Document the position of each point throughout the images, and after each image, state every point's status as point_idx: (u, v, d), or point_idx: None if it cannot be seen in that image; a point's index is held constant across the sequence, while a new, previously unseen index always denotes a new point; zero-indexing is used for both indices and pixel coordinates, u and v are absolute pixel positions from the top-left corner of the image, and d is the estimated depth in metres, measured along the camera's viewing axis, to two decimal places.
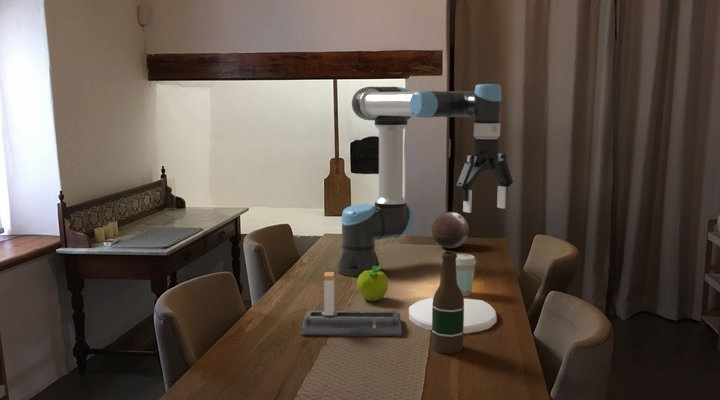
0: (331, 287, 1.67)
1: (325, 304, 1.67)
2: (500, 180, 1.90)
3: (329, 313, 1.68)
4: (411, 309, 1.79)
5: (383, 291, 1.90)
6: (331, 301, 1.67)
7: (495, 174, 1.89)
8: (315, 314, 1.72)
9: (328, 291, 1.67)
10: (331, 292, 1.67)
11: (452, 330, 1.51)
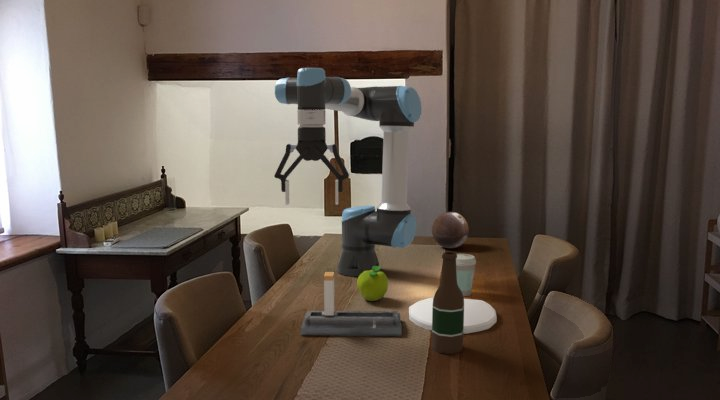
0: (331, 287, 1.67)
1: (325, 304, 1.67)
2: (333, 173, 1.73)
3: (329, 313, 1.68)
4: (411, 309, 1.79)
5: (383, 291, 1.90)
6: (331, 301, 1.67)
7: None
8: (315, 314, 1.72)
9: (328, 291, 1.67)
10: (331, 292, 1.67)
11: (452, 330, 1.51)
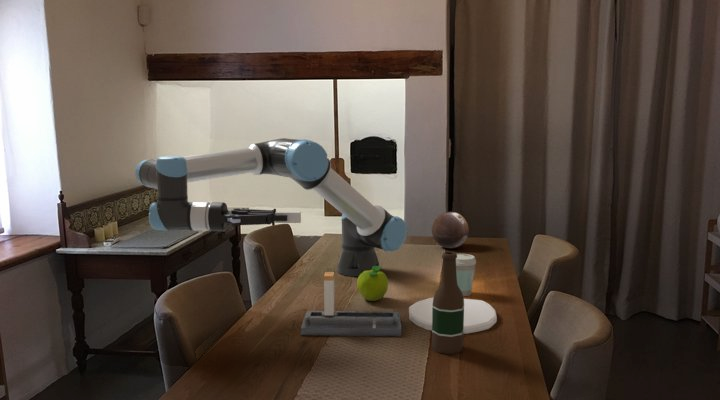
0: (331, 287, 1.67)
1: (325, 304, 1.67)
2: None
3: (329, 313, 1.68)
4: (411, 309, 1.79)
5: (383, 291, 1.90)
6: (331, 301, 1.67)
7: None
8: (315, 314, 1.72)
9: (328, 291, 1.67)
10: (331, 292, 1.67)
11: (452, 330, 1.51)
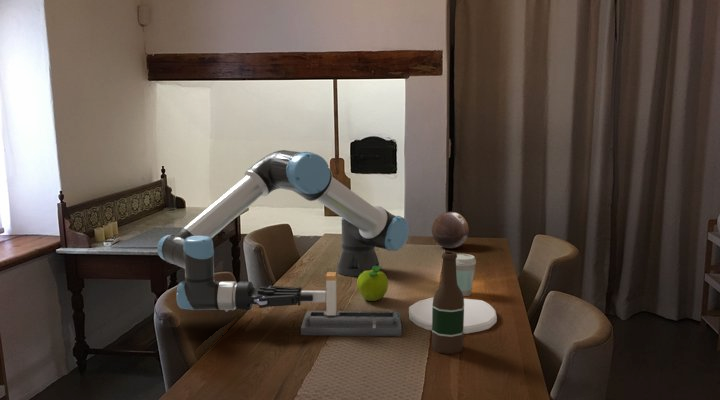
0: (333, 287, 1.67)
1: (327, 304, 1.67)
2: None
3: (331, 313, 1.68)
4: (411, 309, 1.79)
5: (383, 291, 1.90)
6: (333, 301, 1.67)
7: None
8: (315, 314, 1.72)
9: (330, 291, 1.67)
10: (334, 292, 1.67)
11: (452, 330, 1.51)
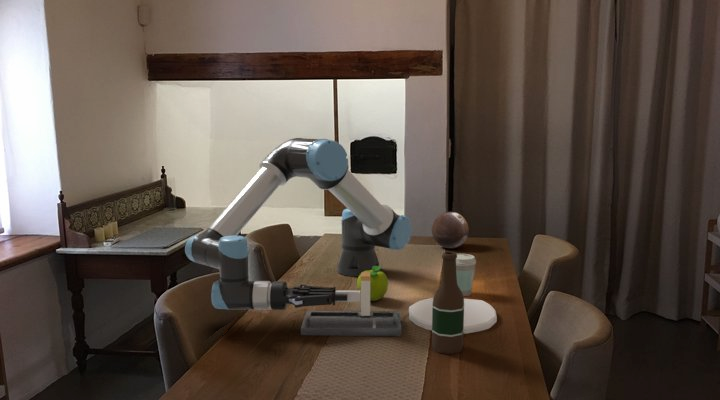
0: (368, 287, 1.66)
1: (362, 304, 1.67)
2: None
3: (366, 313, 1.67)
4: (411, 309, 1.79)
5: (383, 291, 1.90)
6: (368, 301, 1.67)
7: None
8: (315, 314, 1.72)
9: (365, 291, 1.67)
10: (368, 292, 1.67)
11: (452, 330, 1.51)
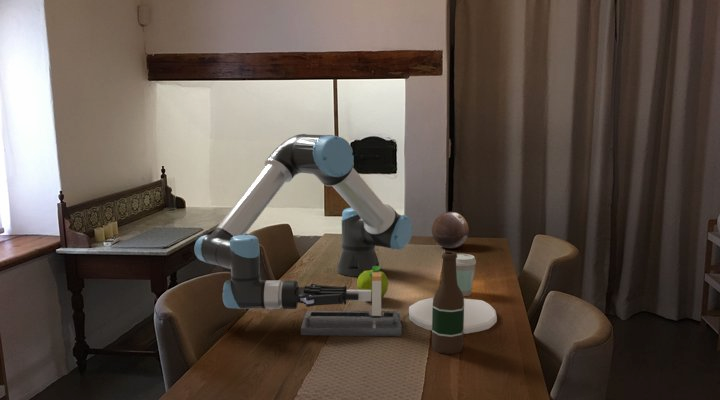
0: (379, 287, 1.66)
1: (373, 304, 1.67)
2: None
3: (377, 313, 1.67)
4: (411, 309, 1.79)
5: (383, 291, 1.90)
6: (379, 301, 1.67)
7: None
8: (315, 314, 1.72)
9: (376, 291, 1.66)
10: (379, 292, 1.66)
11: (452, 330, 1.51)
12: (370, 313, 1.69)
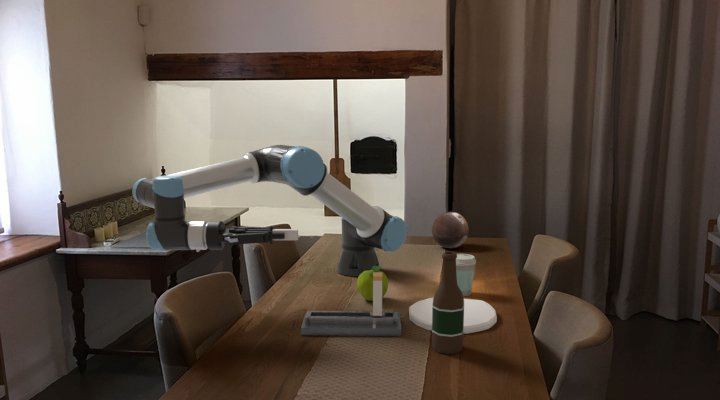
0: (380, 287, 1.66)
1: (374, 304, 1.67)
2: None
3: (378, 313, 1.67)
4: (411, 309, 1.79)
5: (383, 291, 1.90)
6: (380, 301, 1.67)
7: None
8: (315, 314, 1.72)
9: (377, 291, 1.66)
10: (380, 292, 1.66)
11: (452, 330, 1.51)
12: (371, 313, 1.69)
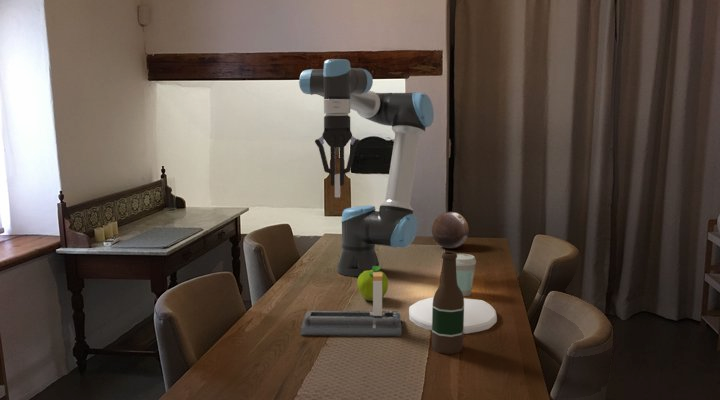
0: (380, 287, 1.66)
1: (374, 304, 1.67)
2: None
3: (378, 313, 1.67)
4: (411, 309, 1.79)
5: (383, 291, 1.90)
6: (380, 301, 1.67)
7: None
8: (315, 314, 1.72)
9: (377, 291, 1.66)
10: (380, 292, 1.66)
11: (452, 330, 1.51)
12: (371, 313, 1.69)
